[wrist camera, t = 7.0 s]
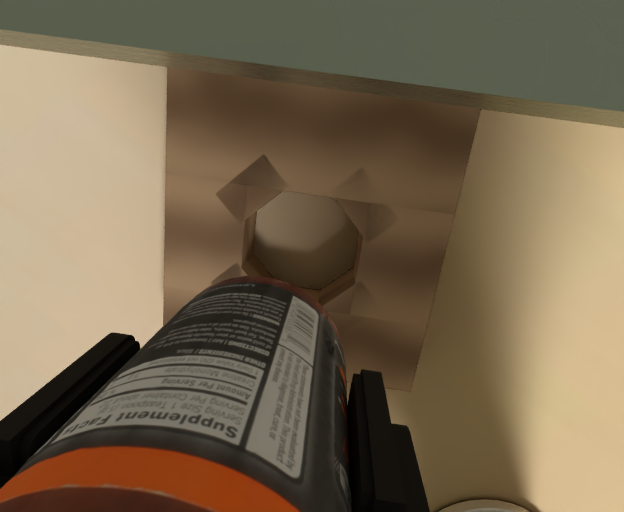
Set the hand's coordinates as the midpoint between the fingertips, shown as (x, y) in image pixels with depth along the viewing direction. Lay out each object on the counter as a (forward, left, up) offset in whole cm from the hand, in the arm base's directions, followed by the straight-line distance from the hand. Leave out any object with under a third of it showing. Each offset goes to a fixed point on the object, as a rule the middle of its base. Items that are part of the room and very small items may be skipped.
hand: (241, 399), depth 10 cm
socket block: (+2, 0, -17) cm, 18 cm away
